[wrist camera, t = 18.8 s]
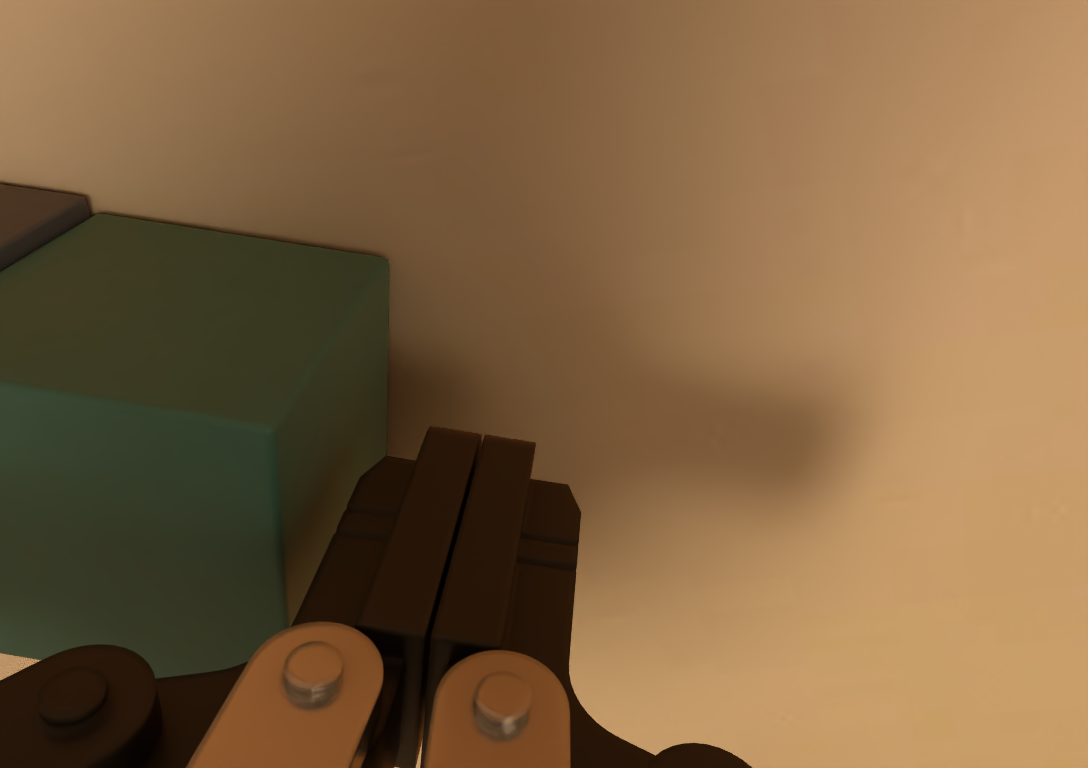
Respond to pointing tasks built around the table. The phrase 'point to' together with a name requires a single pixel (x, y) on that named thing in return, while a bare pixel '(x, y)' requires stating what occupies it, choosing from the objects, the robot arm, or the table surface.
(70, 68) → the table surface
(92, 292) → the teal block
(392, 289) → the table surface
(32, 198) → the slate block
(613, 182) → the table surface
